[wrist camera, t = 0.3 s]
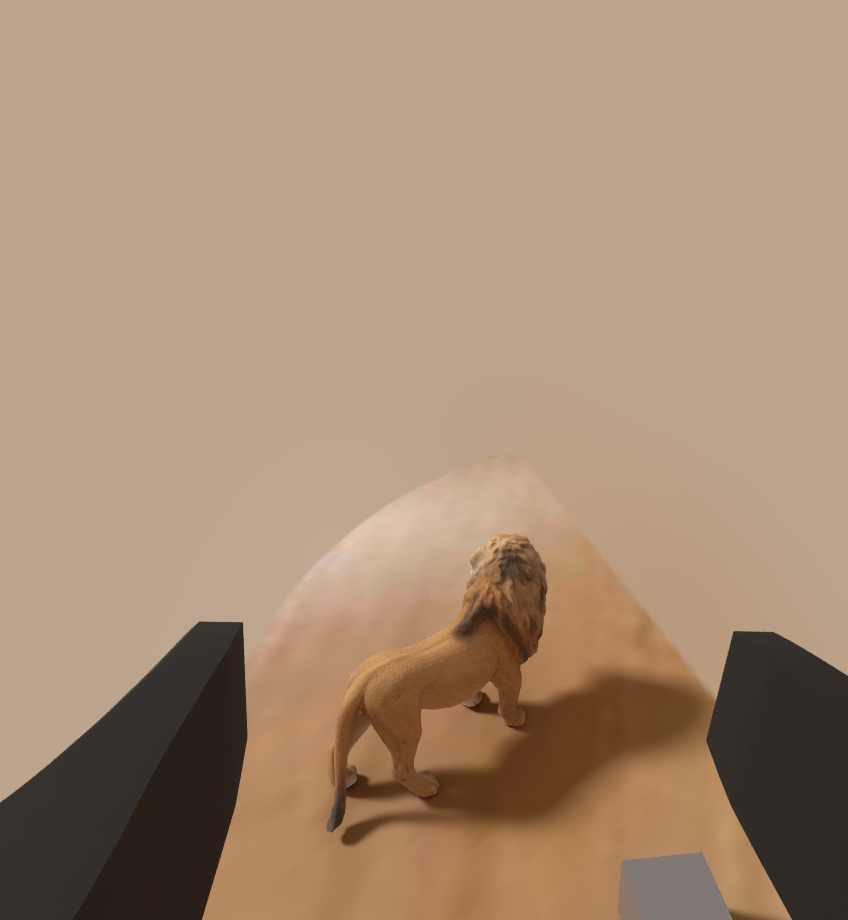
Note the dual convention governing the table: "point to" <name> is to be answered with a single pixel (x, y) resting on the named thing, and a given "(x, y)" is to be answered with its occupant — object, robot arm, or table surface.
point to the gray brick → (670, 889)
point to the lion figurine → (446, 667)
